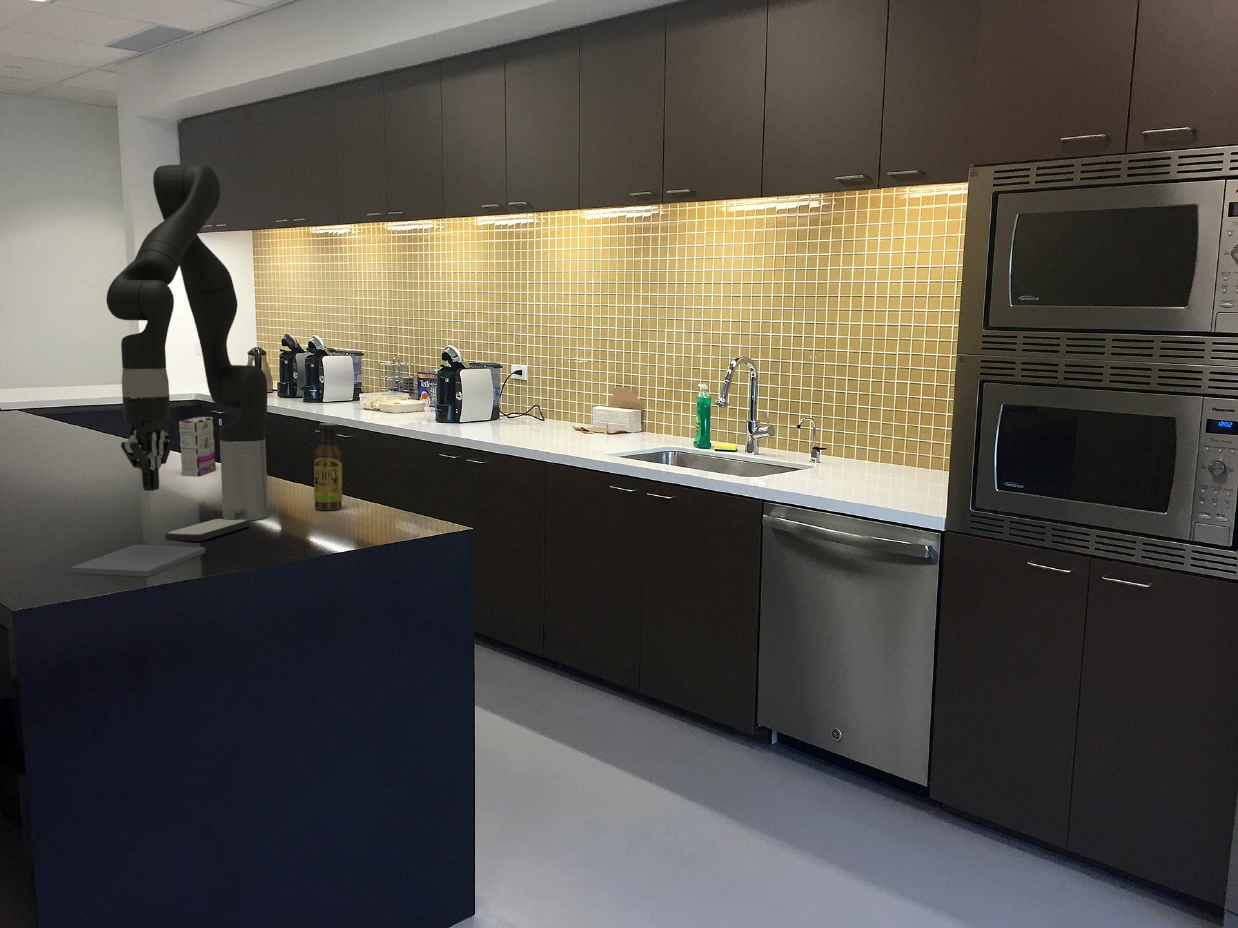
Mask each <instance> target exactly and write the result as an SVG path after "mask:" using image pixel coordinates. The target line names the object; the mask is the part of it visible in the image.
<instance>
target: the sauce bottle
mask: <svg viewBox="0 0 1238 928" xmlns="http://www.w3.org/2000/svg"><path fill="white" fill-rule="evenodd" d="M338 425H339V424H338V423H336V422H323V423H322V422H321V423H319V425H318V428H319V429H318V430H319V445H318V446H317V448H316V450H315V451H314V463H313V471H314V472H313V473H314V474H313V475H314V476H313V478H314V481H313V486H314V487H313V491H314V493H313V500H314V508H315V509H316V510H317V511H318V510H320V511H338V510H341V509H342V506H343V505H342V501H343V462H342V461H343V458H342V457H343V454H342V451H341V449H340V447H339V445H338V440H337V439H338V438H337V437H338V434H337V433H338V429H339V428H338Z"/></svg>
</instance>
